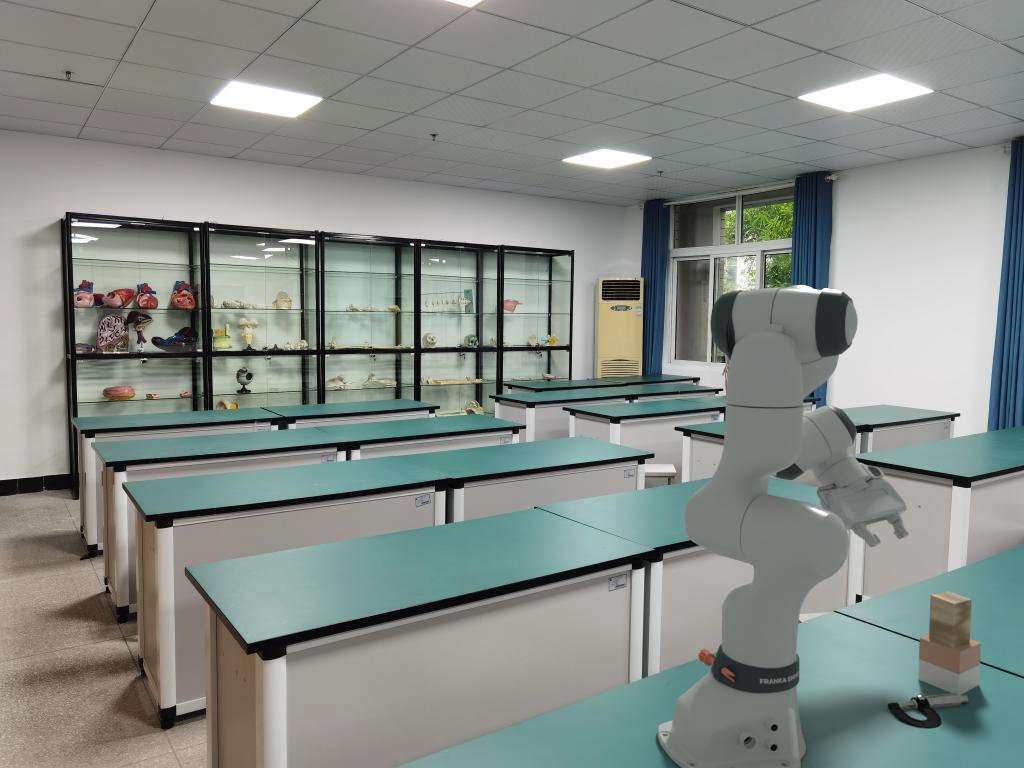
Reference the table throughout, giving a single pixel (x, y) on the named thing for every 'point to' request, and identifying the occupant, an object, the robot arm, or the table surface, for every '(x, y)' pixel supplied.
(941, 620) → the oak block
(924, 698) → the micrometer
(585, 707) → the table surface
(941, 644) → the terracotta tower block
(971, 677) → the off-white tower block
